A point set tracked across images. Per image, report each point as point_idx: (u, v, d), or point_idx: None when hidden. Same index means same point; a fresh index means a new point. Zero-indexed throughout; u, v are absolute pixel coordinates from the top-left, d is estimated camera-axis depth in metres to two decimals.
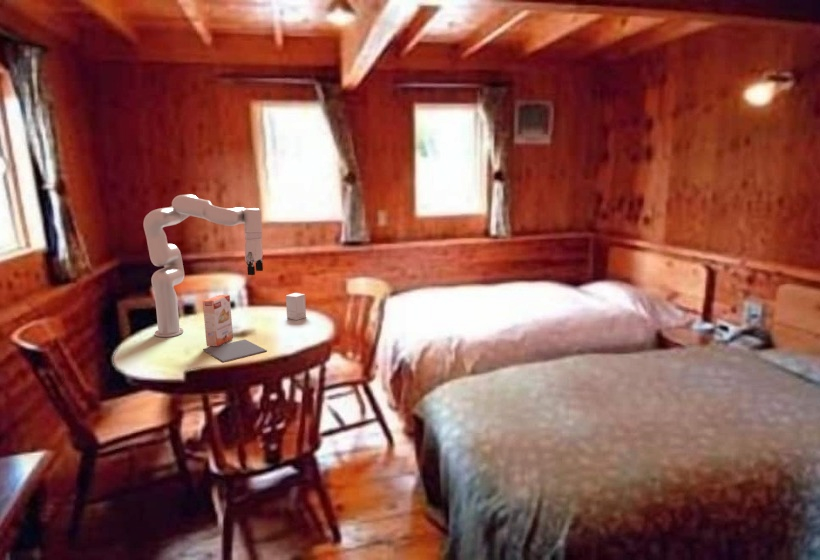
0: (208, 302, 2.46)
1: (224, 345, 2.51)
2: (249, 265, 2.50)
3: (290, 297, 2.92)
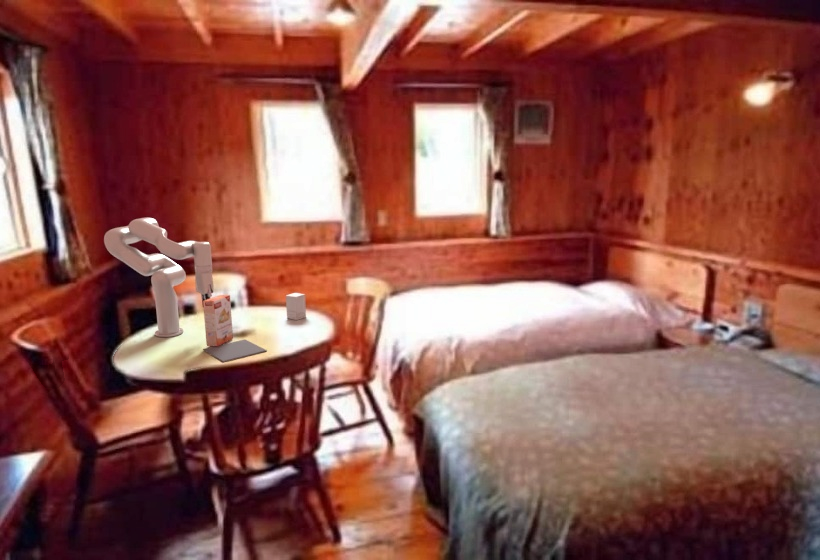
0: (208, 302, 2.46)
1: (224, 345, 2.51)
2: (207, 298, 2.60)
3: (290, 297, 2.92)
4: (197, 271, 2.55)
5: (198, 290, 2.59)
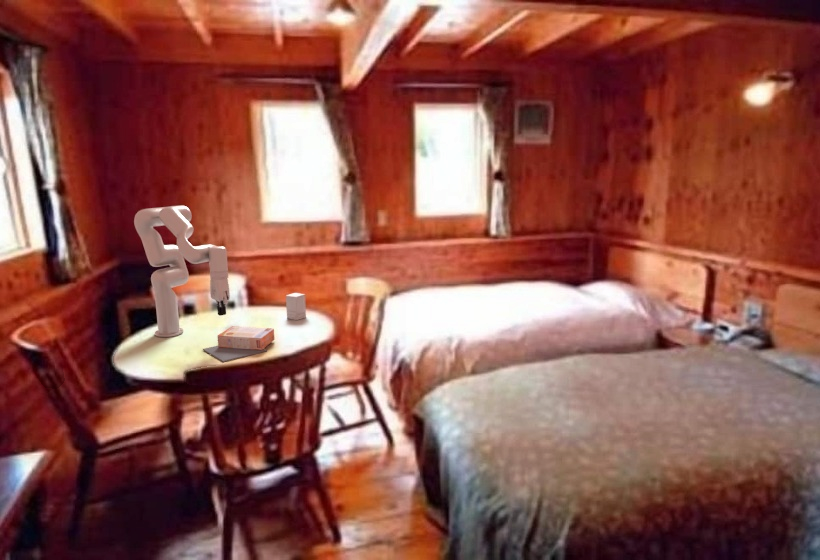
0: (260, 344, 2.44)
1: None
2: (223, 305, 2.48)
3: (290, 297, 2.92)
4: (212, 277, 2.44)
5: (213, 297, 2.48)
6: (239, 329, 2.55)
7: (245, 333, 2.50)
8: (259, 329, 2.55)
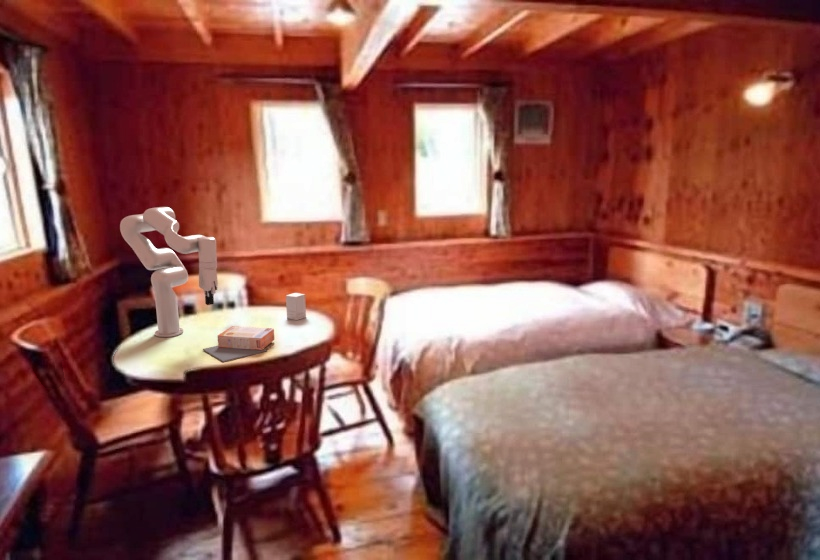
0: (260, 344, 2.44)
1: None
2: (211, 295, 2.53)
3: (290, 297, 2.92)
4: (201, 267, 2.48)
5: (201, 286, 2.52)
6: (239, 329, 2.55)
7: (245, 333, 2.50)
8: (259, 329, 2.55)
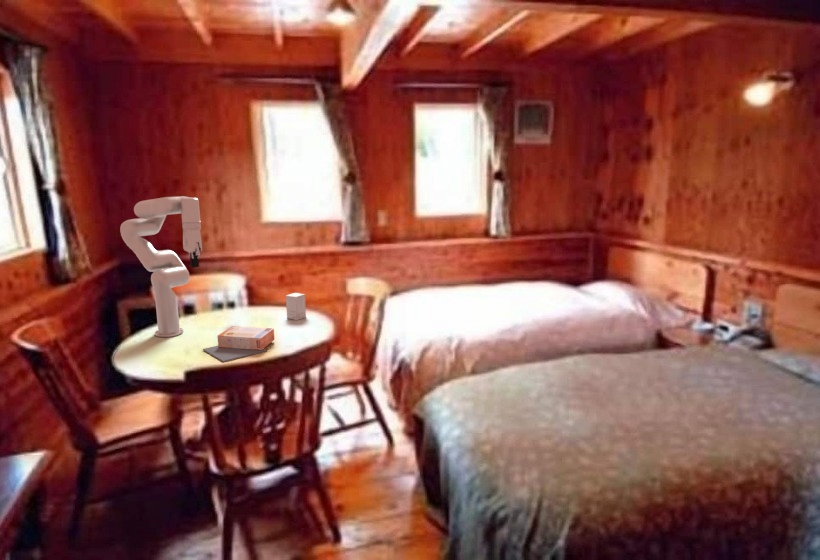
0: (260, 344, 2.44)
1: None
2: (195, 257, 2.48)
3: (290, 297, 2.92)
4: (184, 228, 2.43)
5: (186, 248, 2.47)
6: (239, 329, 2.55)
7: (245, 333, 2.50)
8: (259, 329, 2.55)
